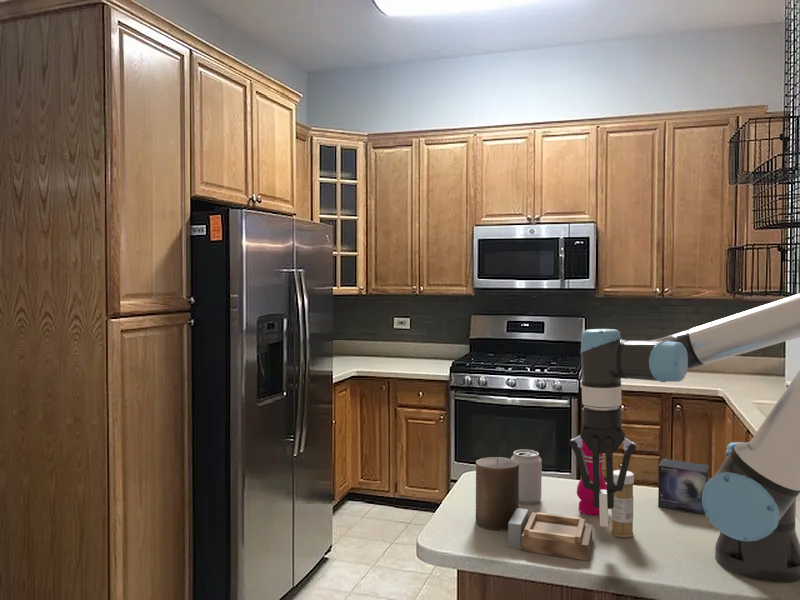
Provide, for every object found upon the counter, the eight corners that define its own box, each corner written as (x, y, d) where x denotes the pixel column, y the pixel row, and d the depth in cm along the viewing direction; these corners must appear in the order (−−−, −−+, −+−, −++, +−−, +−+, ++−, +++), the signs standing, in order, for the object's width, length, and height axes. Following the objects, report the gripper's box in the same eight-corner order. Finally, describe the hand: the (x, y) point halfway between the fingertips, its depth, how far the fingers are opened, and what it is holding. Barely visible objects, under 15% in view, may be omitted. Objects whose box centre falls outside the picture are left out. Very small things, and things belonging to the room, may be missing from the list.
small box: (657, 508, 152) (657, 464, 152) (661, 499, 158) (661, 457, 158) (705, 516, 147) (706, 471, 147) (708, 507, 153) (709, 464, 152)
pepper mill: (610, 517, 146) (611, 431, 145) (577, 515, 148) (578, 429, 147) (606, 506, 153) (607, 424, 153) (575, 504, 155) (576, 422, 154)
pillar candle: (518, 532, 138) (518, 463, 138) (472, 528, 140) (473, 460, 140) (519, 516, 147) (520, 452, 147) (477, 513, 149) (477, 449, 149)
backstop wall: (528, 532, 138) (528, 509, 138) (520, 548, 130) (520, 524, 129) (516, 530, 139) (516, 508, 139) (508, 547, 130) (508, 522, 130)
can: (522, 492, 163) (522, 446, 163) (547, 500, 158) (547, 452, 157) (504, 499, 158) (504, 451, 158) (529, 507, 153) (529, 458, 152)
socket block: (592, 538, 134) (592, 519, 134) (587, 560, 124) (588, 539, 124) (530, 530, 139) (530, 511, 139) (520, 550, 129) (521, 530, 128)
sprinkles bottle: (625, 529, 139) (626, 468, 139) (637, 537, 135) (638, 474, 134) (606, 531, 138) (607, 469, 138) (618, 539, 134) (618, 476, 134)
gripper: (636, 404, 128) (639, 520, 129) (570, 401, 133) (572, 514, 133) (636, 411, 121) (638, 534, 122) (566, 408, 126) (568, 527, 126)
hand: (604, 523), depth 128 cm, fingers closed
